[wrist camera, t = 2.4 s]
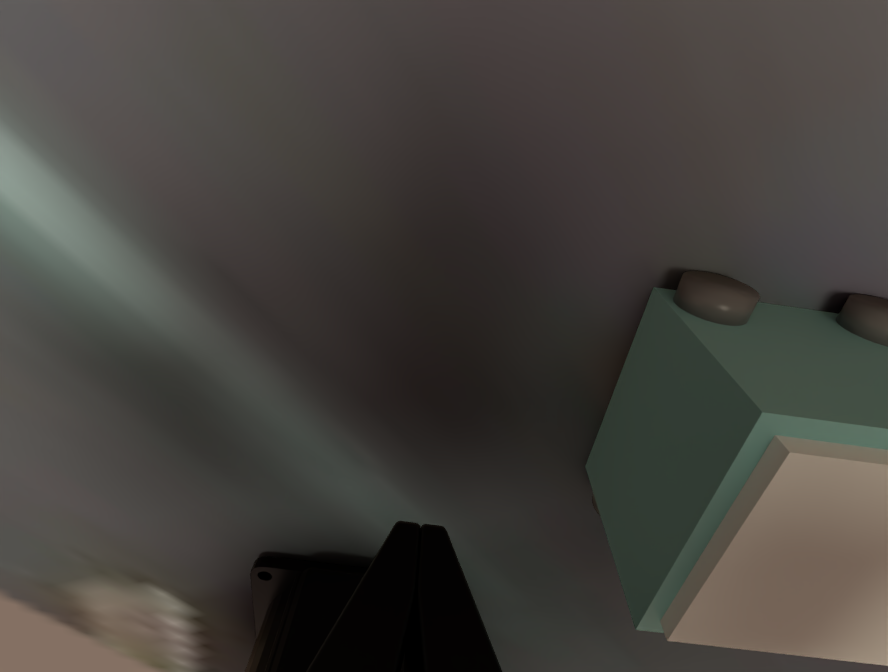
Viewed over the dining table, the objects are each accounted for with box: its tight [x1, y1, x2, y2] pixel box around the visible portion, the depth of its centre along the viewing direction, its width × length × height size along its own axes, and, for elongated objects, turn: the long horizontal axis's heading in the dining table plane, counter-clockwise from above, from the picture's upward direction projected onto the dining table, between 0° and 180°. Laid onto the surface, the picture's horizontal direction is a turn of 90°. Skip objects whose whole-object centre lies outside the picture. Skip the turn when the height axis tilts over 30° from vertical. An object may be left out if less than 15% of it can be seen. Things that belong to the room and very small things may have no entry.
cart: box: [585, 271, 888, 666], centre depth 11 cm, size 7×6×5 cm
